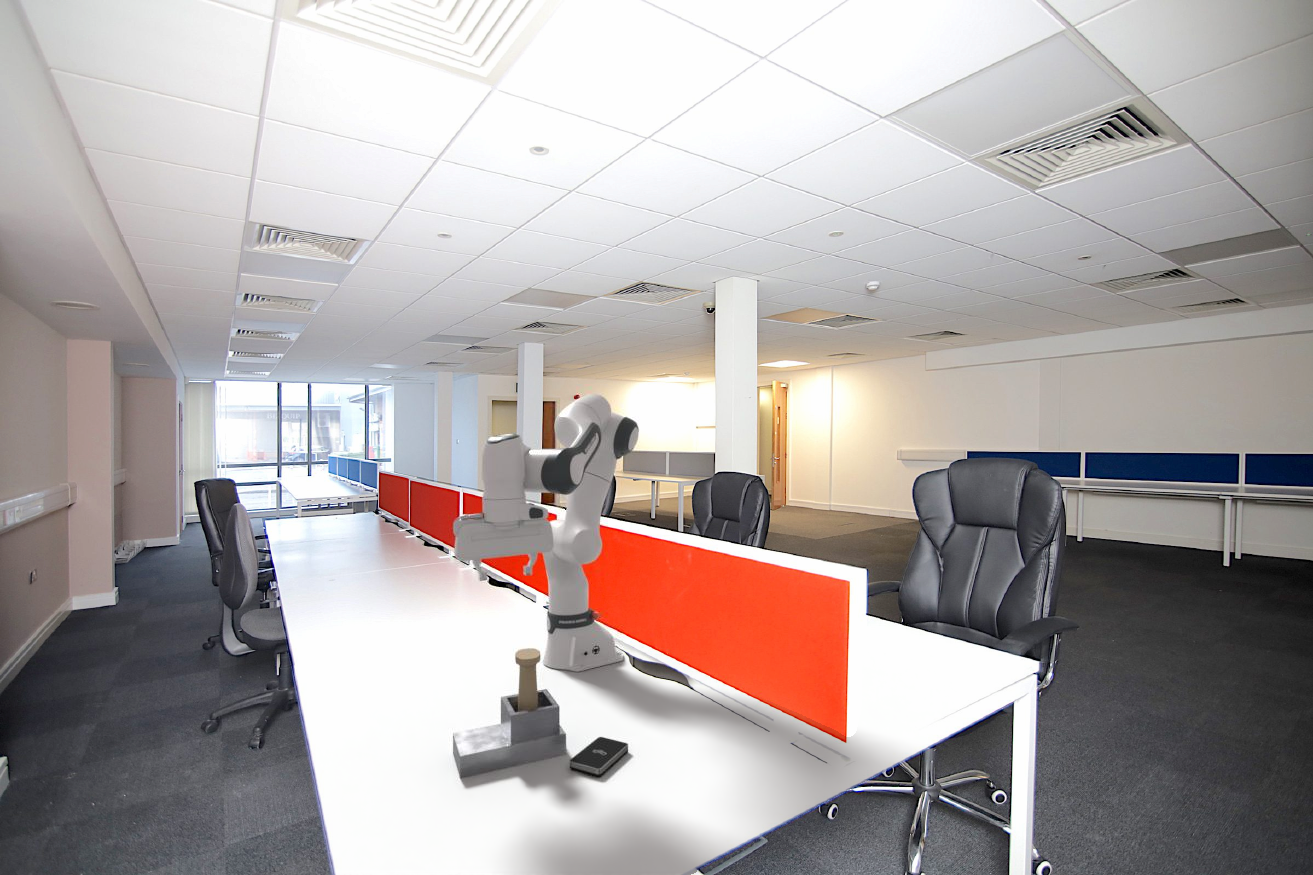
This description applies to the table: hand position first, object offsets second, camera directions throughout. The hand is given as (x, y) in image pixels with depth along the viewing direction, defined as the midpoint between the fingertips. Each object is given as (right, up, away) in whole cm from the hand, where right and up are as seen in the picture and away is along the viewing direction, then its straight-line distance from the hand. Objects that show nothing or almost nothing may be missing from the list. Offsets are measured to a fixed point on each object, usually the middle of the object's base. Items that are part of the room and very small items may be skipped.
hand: (505, 577), depth 129 cm
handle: (+6, -29, -6) cm, 30 cm away
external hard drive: (+21, -33, -11) cm, 41 cm away
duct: (+3, -33, -8) cm, 34 cm away
